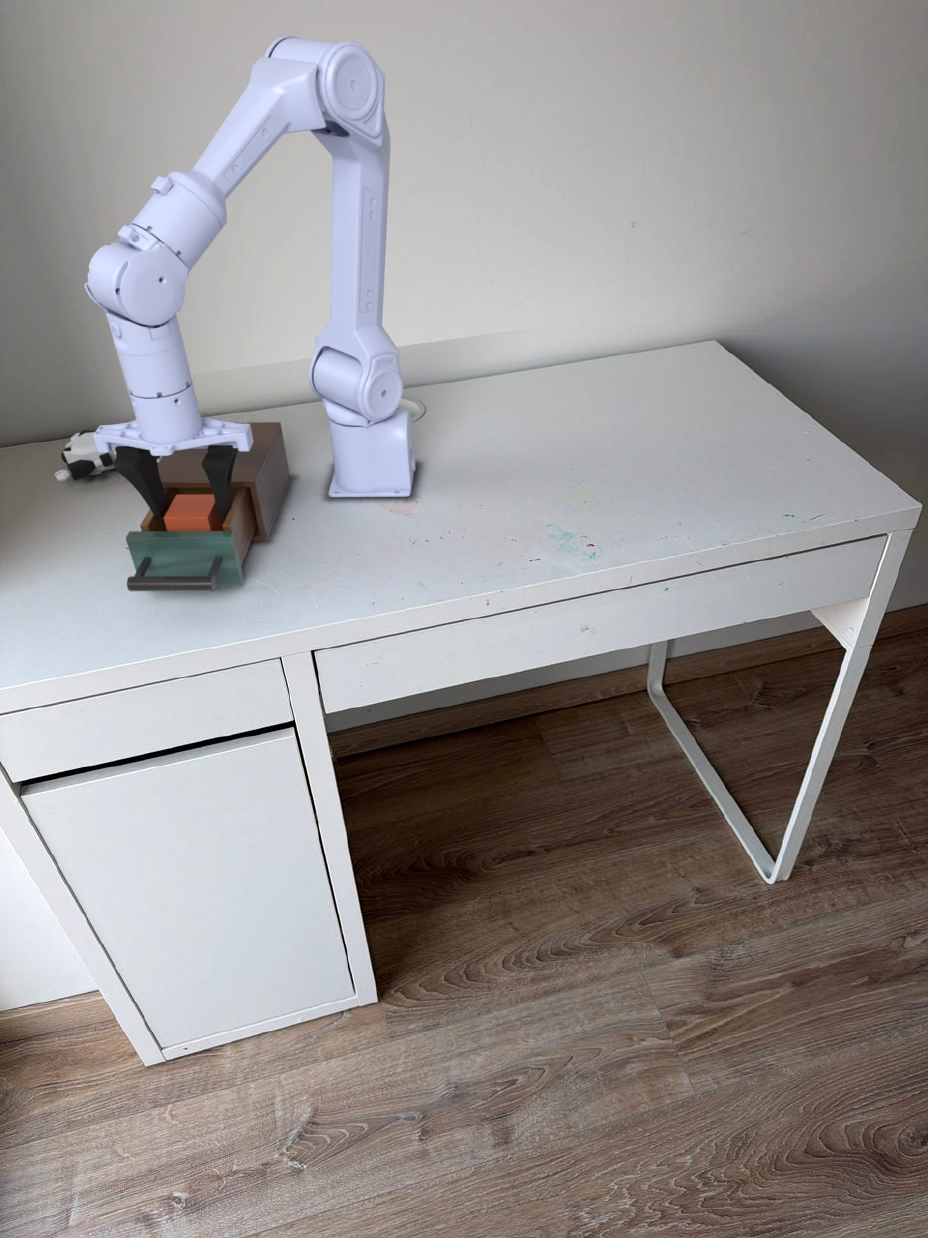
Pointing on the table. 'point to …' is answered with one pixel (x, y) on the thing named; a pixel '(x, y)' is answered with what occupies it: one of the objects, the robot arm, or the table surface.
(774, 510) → the table surface
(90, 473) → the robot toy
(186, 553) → the drawer
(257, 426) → the cabinet
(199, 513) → the block
